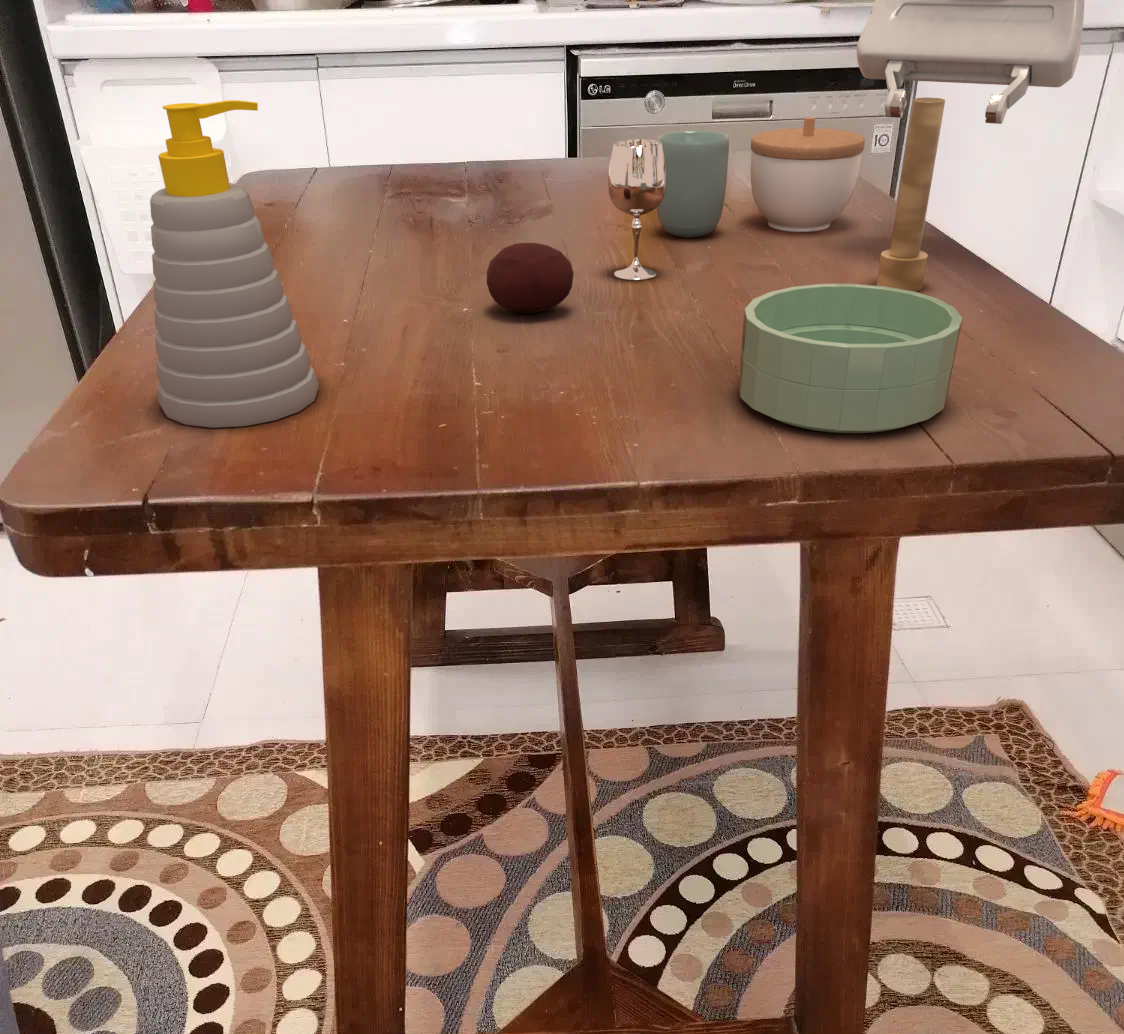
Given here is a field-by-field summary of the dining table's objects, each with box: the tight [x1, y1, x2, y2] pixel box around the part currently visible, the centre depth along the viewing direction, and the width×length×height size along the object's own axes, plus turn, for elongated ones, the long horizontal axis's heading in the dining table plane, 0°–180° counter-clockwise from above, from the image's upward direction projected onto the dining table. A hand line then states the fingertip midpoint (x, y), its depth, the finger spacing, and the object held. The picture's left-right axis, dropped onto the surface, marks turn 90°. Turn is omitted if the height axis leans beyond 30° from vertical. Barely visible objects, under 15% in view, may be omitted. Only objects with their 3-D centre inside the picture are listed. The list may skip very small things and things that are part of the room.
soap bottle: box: [149, 99, 320, 429], centre depth 81 cm, size 12×12×20 cm
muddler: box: [875, 97, 946, 292], centre depth 103 cm, size 4×4×16 cm
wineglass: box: [607, 138, 667, 281], centre depth 110 cm, size 6×6×12 cm
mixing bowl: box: [738, 283, 963, 434], centre depth 82 cm, size 15×15×6 cm
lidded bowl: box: [750, 116, 866, 233], centre depth 126 cm, size 13×13×11 cm
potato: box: [486, 242, 575, 314], centre depth 102 cm, size 7×8×6 cm
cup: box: [656, 129, 730, 239], centre depth 124 cm, size 8×8×10 cm
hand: (941, 116), depth 103 cm, fingers open, 8 cm apart
